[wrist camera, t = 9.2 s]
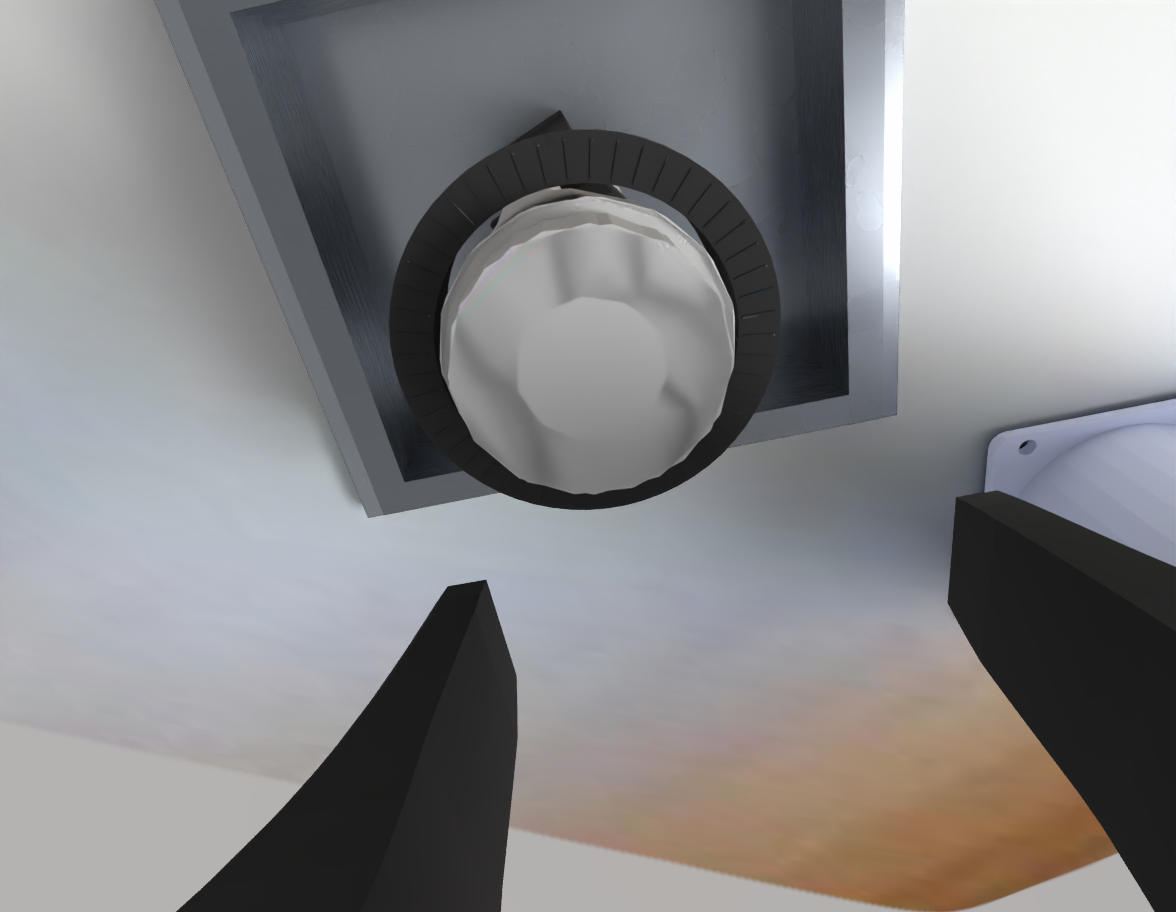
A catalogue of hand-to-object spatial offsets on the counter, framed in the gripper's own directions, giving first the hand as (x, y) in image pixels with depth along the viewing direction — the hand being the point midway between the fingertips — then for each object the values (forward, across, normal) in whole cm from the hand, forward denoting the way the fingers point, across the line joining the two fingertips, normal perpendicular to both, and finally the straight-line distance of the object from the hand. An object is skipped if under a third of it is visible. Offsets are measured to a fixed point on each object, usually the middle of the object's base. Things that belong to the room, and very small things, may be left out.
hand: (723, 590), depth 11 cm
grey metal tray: (+10, +1, -4) cm, 11 cm away
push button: (+10, +1, -4) cm, 11 cm away
